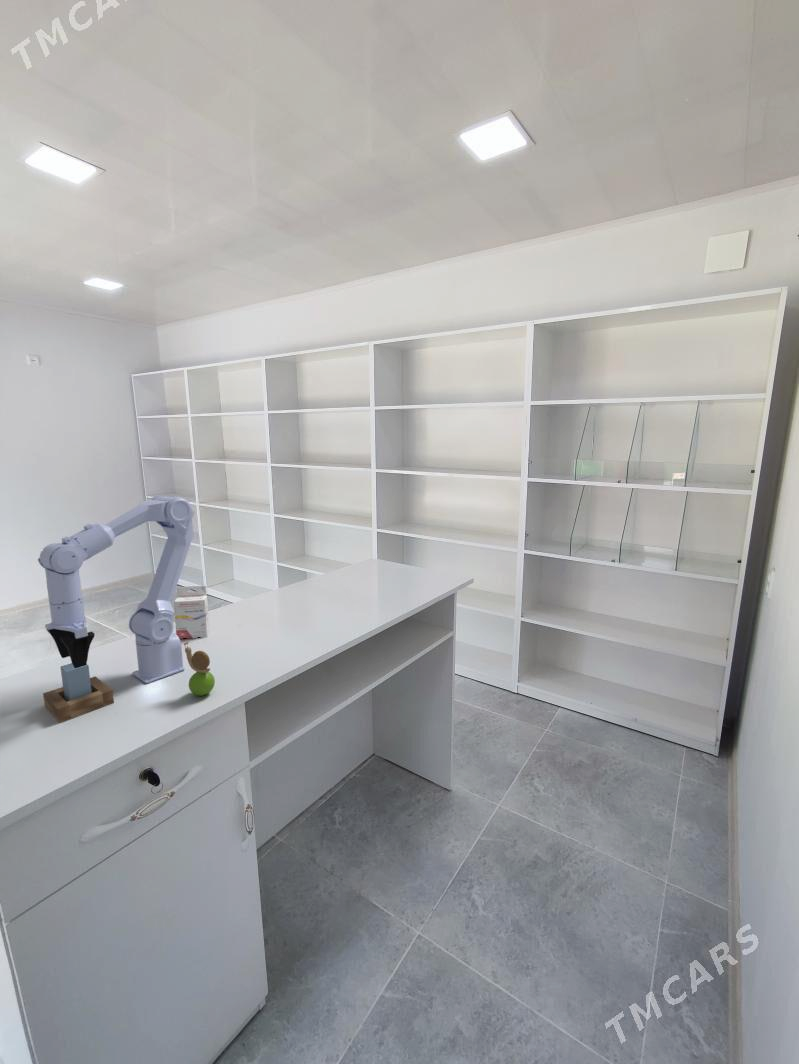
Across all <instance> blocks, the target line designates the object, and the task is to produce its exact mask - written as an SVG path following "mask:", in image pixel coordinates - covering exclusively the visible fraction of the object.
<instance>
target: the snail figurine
mask: <svg viewBox="0 0 799 1064" xmlns="http://www.w3.org/2000/svg"><path fill="white" fill-rule="evenodd" d="M183 645H184V652H185V654H186V659H187V661H188V662H187V663H188V665H189V667H190V669H192V670H193V671H195V673H193V674H192V675H191V676H190V678H189V680H188V689H189V690H190V692H191V693H192V694H193V695H195V696H199V697H202V696H205V695H208V694H209V693H211V692H212V690H213V689H214V687H215V683H216V680H215V677H214V675H213V674H212V672H210V671H211V668H209V666H210V664H211V659H210V657H209V655H208V653H206V652H205V651H202V650H197V651H195V652H194V653H193V654H192V648H191V647H190V646H188V645H189V641H186V642H184V643H183Z"/></svg>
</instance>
